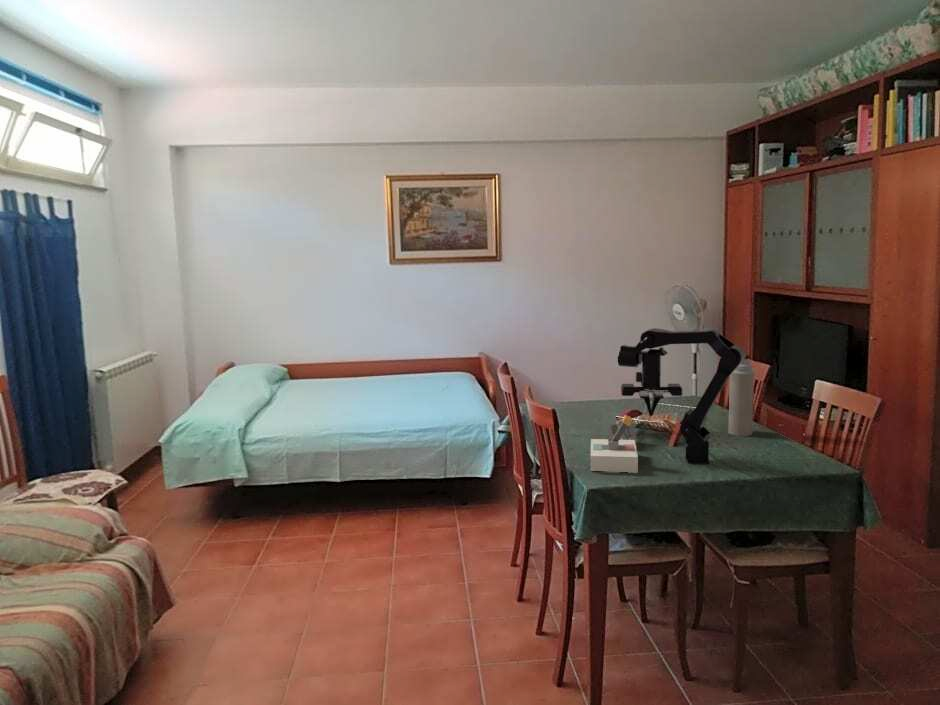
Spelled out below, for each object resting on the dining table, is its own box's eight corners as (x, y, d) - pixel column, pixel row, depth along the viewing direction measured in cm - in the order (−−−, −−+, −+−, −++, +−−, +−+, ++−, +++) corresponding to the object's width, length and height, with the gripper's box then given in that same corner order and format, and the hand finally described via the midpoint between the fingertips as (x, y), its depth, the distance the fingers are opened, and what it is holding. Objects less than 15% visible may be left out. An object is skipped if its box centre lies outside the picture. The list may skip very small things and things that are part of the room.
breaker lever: (615, 446, 226) (632, 418, 223) (615, 449, 223) (632, 421, 220) (608, 442, 226) (625, 414, 224) (608, 445, 223) (625, 417, 220)
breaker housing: (634, 454, 233) (634, 432, 231) (637, 472, 215) (637, 448, 214) (591, 453, 235) (590, 431, 234) (590, 471, 218) (590, 447, 216)
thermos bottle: (751, 430, 256) (754, 353, 251) (752, 436, 248) (755, 357, 244) (728, 429, 258) (730, 353, 254) (728, 435, 251) (730, 356, 246)
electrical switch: (625, 449, 239) (622, 422, 238) (611, 448, 242) (608, 421, 241) (637, 442, 246) (635, 416, 245) (624, 441, 249) (621, 415, 248)
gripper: (677, 363, 234) (677, 409, 237) (619, 363, 237) (619, 409, 240) (683, 370, 223) (682, 418, 226) (622, 370, 226) (621, 418, 229)
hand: (650, 415), depth 230 cm, fingers closed
